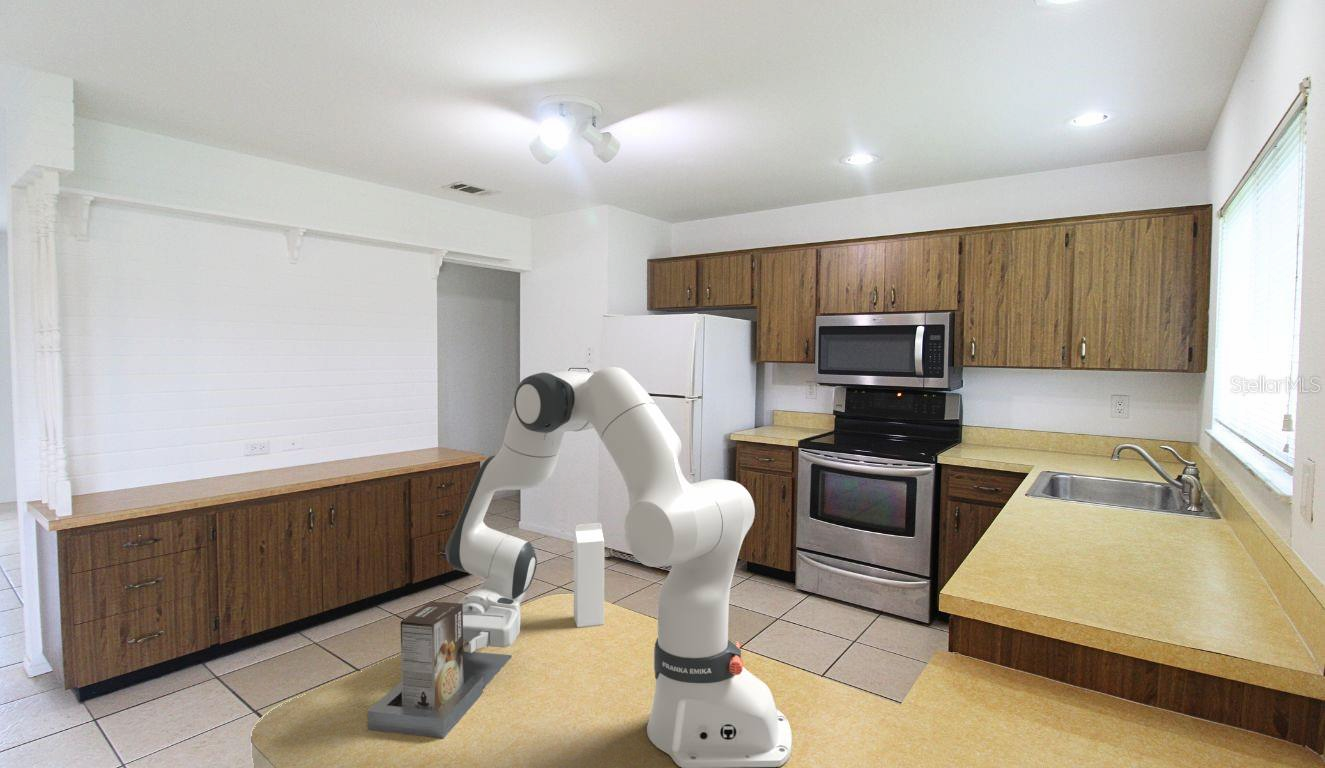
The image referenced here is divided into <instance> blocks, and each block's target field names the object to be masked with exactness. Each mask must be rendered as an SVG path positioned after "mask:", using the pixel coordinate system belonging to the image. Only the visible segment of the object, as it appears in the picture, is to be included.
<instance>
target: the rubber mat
mask: <svg viewBox="0 0 1325 768" xmlns="http://www.w3.org/2000/svg"><path fill="white" fill-rule="evenodd" d="M512 657H513V655H512V654H503V653H502V654H501V653H490V652H481V651H480V652H479V651H477V652H476V651H473V652H472V653H468V652H463V659H464V665H463V666H464V683H465V682H466V681H467V680H468V679H469V678H470V677H471V676H472V675H477V676H483V689H485V688H487V686H488V685H489V684H490V682H492V680H493V679H494V678H495V677H496V676H497V674H499V672H500V671H501V670H502V669H503V668H504V667H505V665H506V664H507V663H508V662H509V661H510V660H511V658H512ZM509 659H510V660H509ZM508 660H509V661H508ZM507 661H508V662H507ZM506 662H507V663H506ZM502 667H503V668H502ZM501 668H502V669H501ZM500 669H501V670H500ZM495 675H496V676H495ZM494 676H495V677H494ZM488 683H489V684H488ZM487 684H488V685H487ZM486 685H487V686H486Z"/></svg>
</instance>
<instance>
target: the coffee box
mask: <svg viewBox="0 0 1325 768" xmlns="http://www.w3.org/2000/svg"><path fill="white" fill-rule="evenodd" d="M463 649H464V647H463V604H462V603H458V602H446V601H429V602H427V603H426V604H425V605H423V606H422V607H420V608H419V609H417V610H416V611H414V612H412V613H411V614H409V615H408V616H407V617H405V618H404V619H402V620H401V621H400V653H401V654H400V663H401V664H400V665H401V667H400V670H401V681H402V707H406V708H416V709H426V710H435V711H439V710H440V709H441V708H442V707H443V706H444V704H445V703H446V702H447V701H448V700H449V699H450V698H451V697H452V696H453V695H454V694H455V693H456V692H457V691H458V690H459V689H460V688H461V687H462V686H463V684H464V666H463V665H464V659H463Z"/></svg>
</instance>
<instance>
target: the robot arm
mask: <svg viewBox="0 0 1325 768" xmlns="http://www.w3.org/2000/svg"><path fill="white" fill-rule="evenodd" d="M513 403H514V404H513V408H512V411H511V413H510V417H509V419H508V423H507V426H506V430H505V434H504V437H503V441H502V442H503V443H502V446H501V448H500V449H499V451H498V453H497V454H496V455H491V456H488V458H486V459H485V461H484V462H483V463H482V465H481V466H480V467H479V470H478V472H477V474H476V476H475V477H474V480H473V483H472V484H471V487H470V490H469V492H468V494H467V497H466V500H465V503H464V505H463V507H462V509H461V512H460V515H459V517H458V520H457V522H456V524H455V525H454V526H455V527H454V528H453V530H452V531H451V533H450V536H449V538H448V539H447V542H446V545H445V548H444V549H445V550H444V554H445V557H446V560H447V563H448V564H449V566H450V567H451V569H453V570H456V571H460V572H464V573H466V574H467V573H468V574H472V575H475V576H478V577H480V578H483V579H486V580H485V581H484V582H482V583H481V584H480V585H479V586H478V587H477V588H475V589H473V590H472V591H470V592H469V593H468V594H466V595H465V596H463V598H461V599H460V600H459V601H458V602H457V603H462V604H463V652H468V653H472V652H475V651H476V650H479V649H482V648H485V647H493V648H501V649H502V648H508V647H509V646H511V645H512V644H513V643H515V641H516V639H517V638H518V636H519V634H520V633H521V632H520V631H521V618H522V617H521V606H520V605H521V603H522V601H523V600H524V597H525V595H526V593H527V590H528V589H529V588H530V586H531V584H532V582H533V579H534V577H535V573H536V569H537V564H538V559H537V555H536V551H535V548H534V546H533V545H532V543H531V542H530V541H527V540H525V539H522V538H520V537H517V536H514V535H511V534H507V533H505V532H502V531H499V530H496V529H493V528H490V527H489V526H487V524H485V522H484V520H485V519H484V518H485V516H486V513H487V511H488V509H489V506H490V504H491V503H492V499H493V496H494V494H495V492H499V491H515V490H516V491H519V490H528V489H532V488H534V487H538V486H539V485H542V484H544V483H545V482H547V480H549V478H551V476H552V475H553V473H554V472H555V469H556V467H557V463H558V461H559V456H560V452H561V448H562V442H563V436H564V434H565V432H581V431H582V432H583V431H586V430H590V429H594V430H595V431H596V434H597V435H598V437H599V439H600V440H601V442H602V444H603V445H604V447H605V448H606V450H607V451H608V454H610V457H611V459H612V460H613V461H614V463H615V465H616V467H617V469H618V471H619V473H620V474H621V476H622V478H623V480H624V483H625V486H626V489H627V494H628V499H629V502H628V503H629V506H628V507H629V508H628V510H627V513H626V516H625V520H624V526H623V528H624V529H623V530H624V532H623V533H624V539H625V543H626V545H627V547H628V549H629V551H630V552H631V554H632V556H633V557H634V558H635V559H636V560H637V561H638V562H640V563H641V564H643V565H644V566H647V567H652V568H653V567H654V568H655V567H670V566H671V568H670V570H669V573H668V574H667V576H666V578H665V579H664V581H663V582H662V583H661V586H660V588H659V590H658V591H659V592H658V594H657V637H656V640H655V643H654V649H653V671H654V678H655V687H654V688H655V689H654V694H653V695H654V696H653V702H652V707H651V712H650V714H649V715H650V716H649V719H648V722H647V724H646V725H647V726H646V735H647V737H648V739H649V741H650V742H651V743H652V744H653V745H654V746H655V747H656V748H657V749H659V750H661V751H663V752H665V754H667V755H669V756H670V757H671V759H672V760H673V762H674V763H675V764H676V765H677V766H678V767H681V768H776V767H778V768H779V767H781V766H782V765H784V764H785V763H786V762H787V761H788V759H789V758H790V755H791V753H792V749H793V748H792V747H793V737H792V729H791V726H790V722H789V720H788V719H787V717H786V715H784V713H782V712H781V711H780V710H779V709H777V707H776V702H775V699H774V696H773V693H772V690H771V689H770V688H769V686H768V685H767V684H766V683H765V682H764V681H763V680H761V679H759V678H758V677H756V676H755V675H754V674H753V673H751V671H749V670H747V668H745V667H744V666H743V665H744V662H743V660H742V649H740V647H741V646H740V643H739V641H738V640H737V641H736V644H735V643H733V641H731V640H730V639H729V612H730V611H729V609H730V608H729V607H730V593H731V588H732V587H731V586H732V582H733V578H734V573H735V570H736V566H737V562H738V558H739V555H740V554H739V553H740V550H741V549H742V548H741V547H742V545H743V541H744V539H745V537H746V536H747V534H748V532H749V531H750V529H751V527H752V526H753V523H754V519H755V515H756V514H755V513H756V509H755V502H754V500H753V497H752V496H751V493H750V492H749V491H748V490H747V488H746V487H744V486H743V485H742V484H741V483H739V482H737V481H734V480H729V479H723V478H722V479H719V478H716V479H715V478H710V479H705V480H701V481H697V482H693V483H691V482H689V481H688V480H687V479H686V478H685V476H684V474H683V472H682V469H681V465H680V462H679V459H680V456H681V453H682V451H683V450H682V447H683V445H682V441H681V438H680V437H679V435H678V434H677V432H676V431H675V430H674V428H673V426H672V425H671V424H670V422H669V421H668V419H667V418H666V417H665V415H664V414H663V412H662V411H661V409H660V408H659V406H658V405H657V404H656V401H654V399H653V398H652V397H651V396H650V394H649V393H648V392H647V390H646V389H645V388H644V387H643V386H642V385H641V384H640V383H639V381H637V379H635V377H633V375H631V374H630V373H629V372H628V371H627V370H626V369H624V368H622V367H618V366H607V367H603V368H602V369H599V370H597V371H594V372H591V371H590V372H589V371H576V370H564V371H562V370H560V371H555V372H540V373H539V372H538V373H534V374H532V375H529V376H527V377H525V378H523V379H522V380H521V381H520V382H519V384H518V385H517V387H516V390H515V394H514V401H513Z"/></svg>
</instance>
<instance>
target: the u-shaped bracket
mask: <svg viewBox="0 0 1325 768" xmlns="http://www.w3.org/2000/svg"><path fill="white" fill-rule="evenodd" d="M482 693H483V694H484V688H483V676H477V675H472V676H471V677H470V678H469V679H468V680H467V681H466V682H465V683H464V684H463V686H462V687H461V688H460V689H459V690H458V691H457V692H456V693H455V694H454V695H453V696H452V697H451V698H450V699H449V700H448V701H447V702H446V703H445V704H444V706H443V707H442V708H441V709H440V710H439V711H435V710H426V709H416V708H406V707H402V680H401V681H400V682H399V683H397V685H395V686H394V687H393V688H392V689H391V690H390V691H389V692H387V693H386V694H385V695H384V696H383V697H381V698H380V699H379V700H378V701H377V702H376V703H375V704H374V705H372V706H371V707H370V708H369V709H368V710H367V711H366V723H367V725H366V726H367V730H368V731H375V732H376V731H377V732H382V733H383V732H386V733H394V734H402V735H411V736H420V737H431V738H439V739H445V738H446V736H447V735H448V734H449V733H450V732H451V731H452V730H453V728H454V727H455V726H456V725H457V724H458V723H459V722H460V720H461V719H462V718H463V716H465V715H466V713H467V712H468V711H469V710H470V709H471V708H472V706H474V704H475V703H476V702H477V701H478V700H479V698H480V697H481V696H482V695H483V694H482Z"/></svg>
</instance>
